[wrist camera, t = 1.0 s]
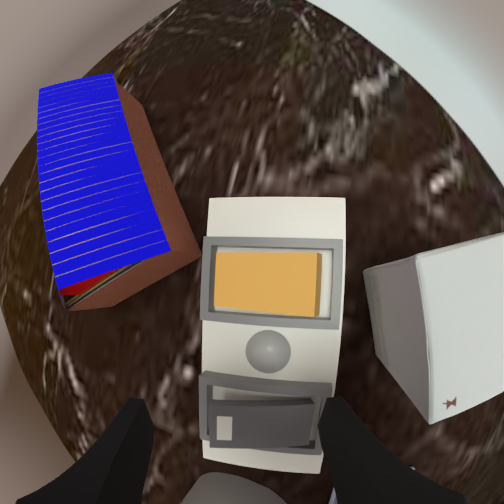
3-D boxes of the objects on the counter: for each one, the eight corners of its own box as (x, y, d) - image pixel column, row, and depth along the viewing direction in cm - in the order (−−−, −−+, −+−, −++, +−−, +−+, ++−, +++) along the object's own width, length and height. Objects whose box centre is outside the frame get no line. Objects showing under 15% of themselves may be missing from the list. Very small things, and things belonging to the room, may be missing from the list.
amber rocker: (319, 315, 16) (313, 317, 15) (222, 304, 20) (213, 305, 19) (322, 254, 17) (317, 252, 16) (225, 253, 20) (216, 252, 19)
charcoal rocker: (305, 438, 18) (309, 445, 17) (210, 440, 17) (209, 448, 16) (310, 398, 18) (315, 404, 17) (209, 399, 17) (209, 405, 16)
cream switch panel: (320, 455, 20) (318, 482, 16) (214, 442, 23) (197, 465, 18) (341, 207, 22) (347, 192, 18) (221, 207, 24) (203, 193, 20)
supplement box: (451, 333, 19) (543, 372, 7) (373, 356, 20) (424, 431, 8) (440, 248, 20) (536, 221, 8) (360, 266, 21) (412, 254, 9)
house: (112, 310, 26) (20, 320, 15) (73, 160, 30) (6, 128, 18) (208, 257, 24) (123, 241, 13) (144, 102, 28) (83, 46, 17)
